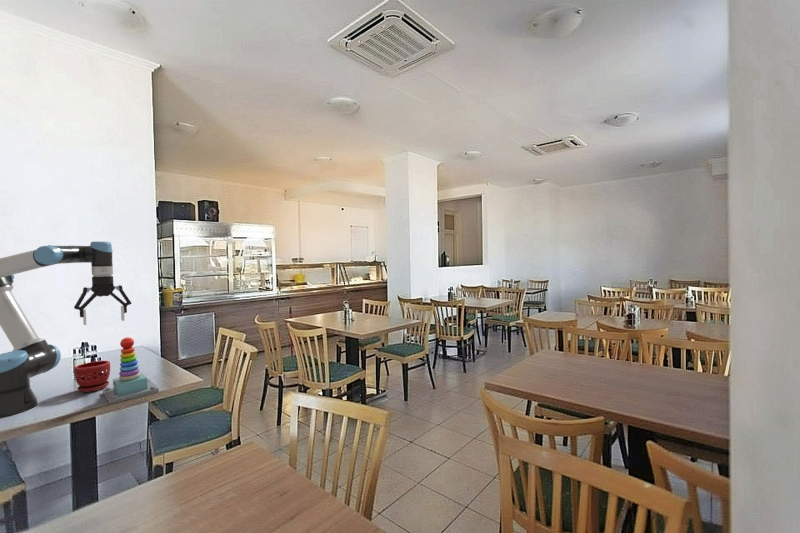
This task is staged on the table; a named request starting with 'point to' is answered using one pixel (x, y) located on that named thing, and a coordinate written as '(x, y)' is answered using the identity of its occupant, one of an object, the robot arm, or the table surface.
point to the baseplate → (130, 395)
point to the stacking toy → (128, 361)
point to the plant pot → (92, 375)
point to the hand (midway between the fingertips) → (104, 322)
